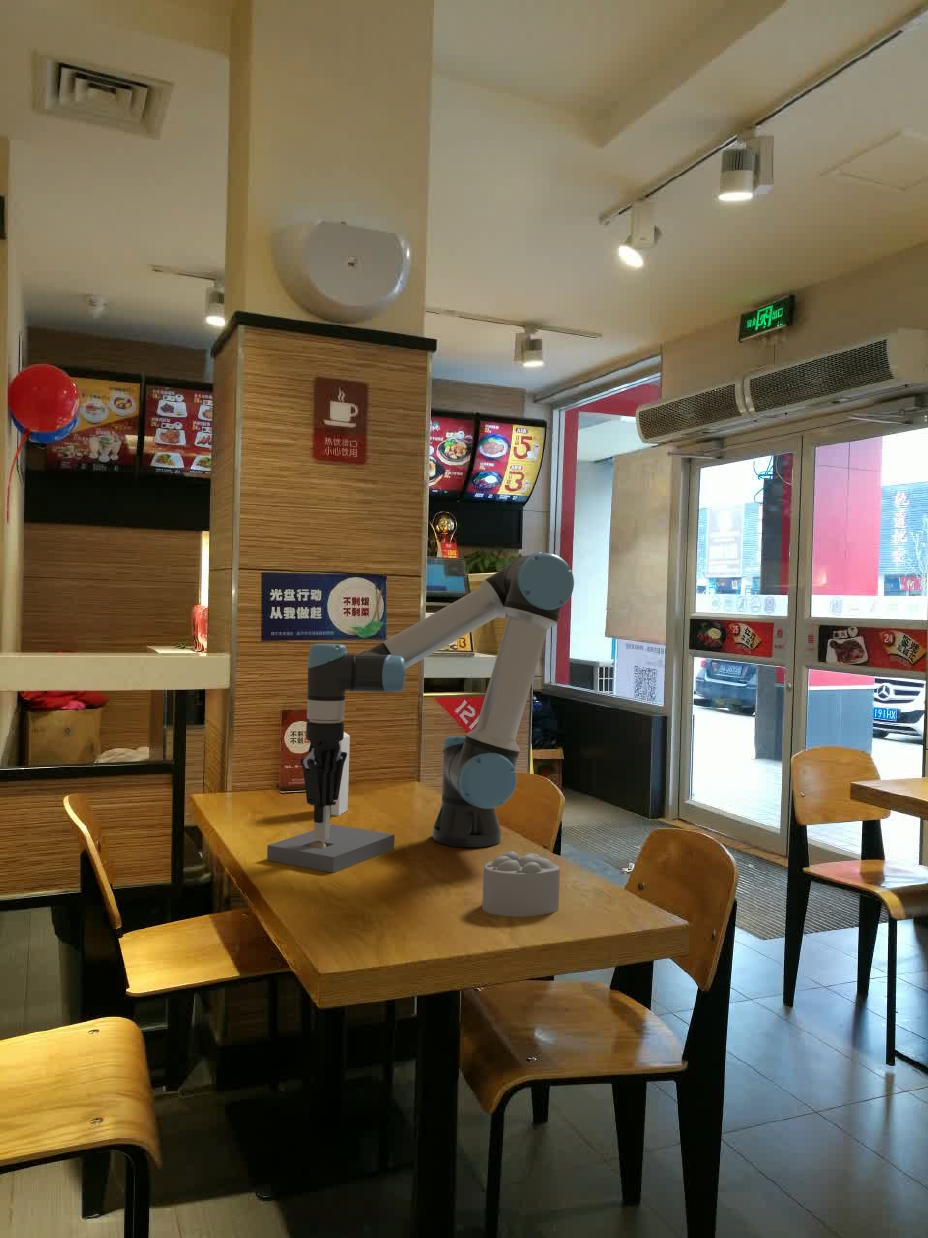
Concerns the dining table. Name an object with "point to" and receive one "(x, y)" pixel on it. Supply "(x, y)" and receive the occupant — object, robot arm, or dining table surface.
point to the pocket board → (331, 848)
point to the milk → (343, 780)
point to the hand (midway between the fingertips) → (321, 837)
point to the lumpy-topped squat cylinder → (520, 885)
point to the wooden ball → (318, 844)
